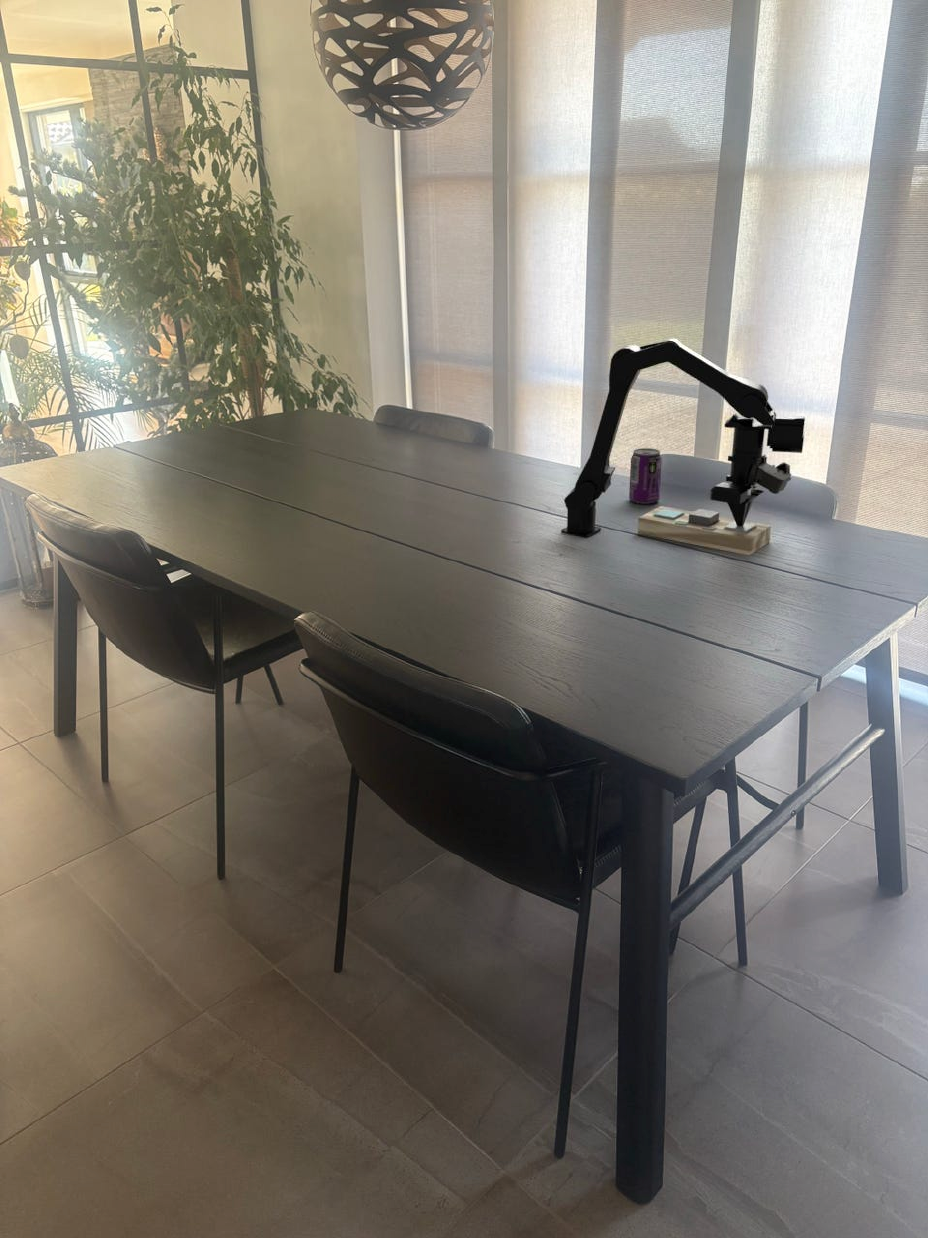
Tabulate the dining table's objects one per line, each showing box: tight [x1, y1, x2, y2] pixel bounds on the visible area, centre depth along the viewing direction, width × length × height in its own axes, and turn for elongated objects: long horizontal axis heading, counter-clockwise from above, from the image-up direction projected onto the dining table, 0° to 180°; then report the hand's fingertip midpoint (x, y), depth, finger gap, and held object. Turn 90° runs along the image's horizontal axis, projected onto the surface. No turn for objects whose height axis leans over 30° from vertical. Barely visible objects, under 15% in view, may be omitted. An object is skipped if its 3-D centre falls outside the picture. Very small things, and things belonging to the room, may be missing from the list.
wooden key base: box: [637, 505, 772, 556], centre depth 195 cm, size 10×25×4 cm, turn 51°
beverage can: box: [628, 447, 663, 505], centre depth 219 cm, size 7×7×12 cm
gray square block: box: [688, 508, 720, 527], centre depth 194 cm, size 5×5×3 cm
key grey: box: [725, 521, 756, 534], centre depth 190 cm, size 5×5×3 cm
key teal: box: [654, 509, 684, 520], centre depth 199 cm, size 5×5×3 cm
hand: (740, 525), depth 189 cm, fingers closed, pressing on key grey
